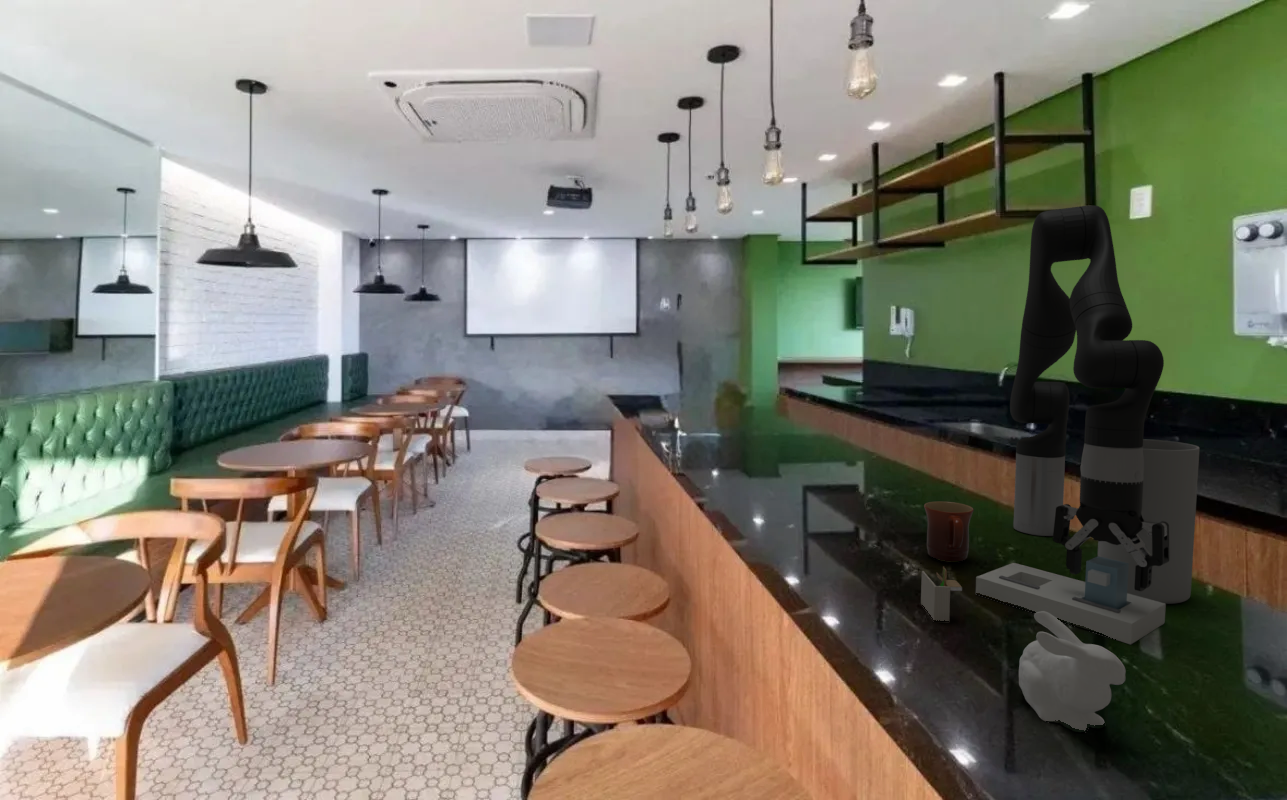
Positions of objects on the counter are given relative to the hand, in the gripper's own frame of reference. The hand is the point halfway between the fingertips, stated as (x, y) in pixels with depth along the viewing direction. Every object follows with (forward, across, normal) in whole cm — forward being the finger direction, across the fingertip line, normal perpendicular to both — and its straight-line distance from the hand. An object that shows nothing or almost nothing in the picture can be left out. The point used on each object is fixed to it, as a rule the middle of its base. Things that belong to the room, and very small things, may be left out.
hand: (1106, 581), depth 96 cm
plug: (+6, 0, 0) cm, 6 cm away
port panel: (+6, +6, 0) cm, 8 cm away
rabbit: (+6, -8, +32) cm, 34 cm away
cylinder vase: (+6, +2, -18) cm, 19 cm away
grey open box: (+7, +16, +18) cm, 25 cm away
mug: (+6, +28, -6) cm, 30 cm away
